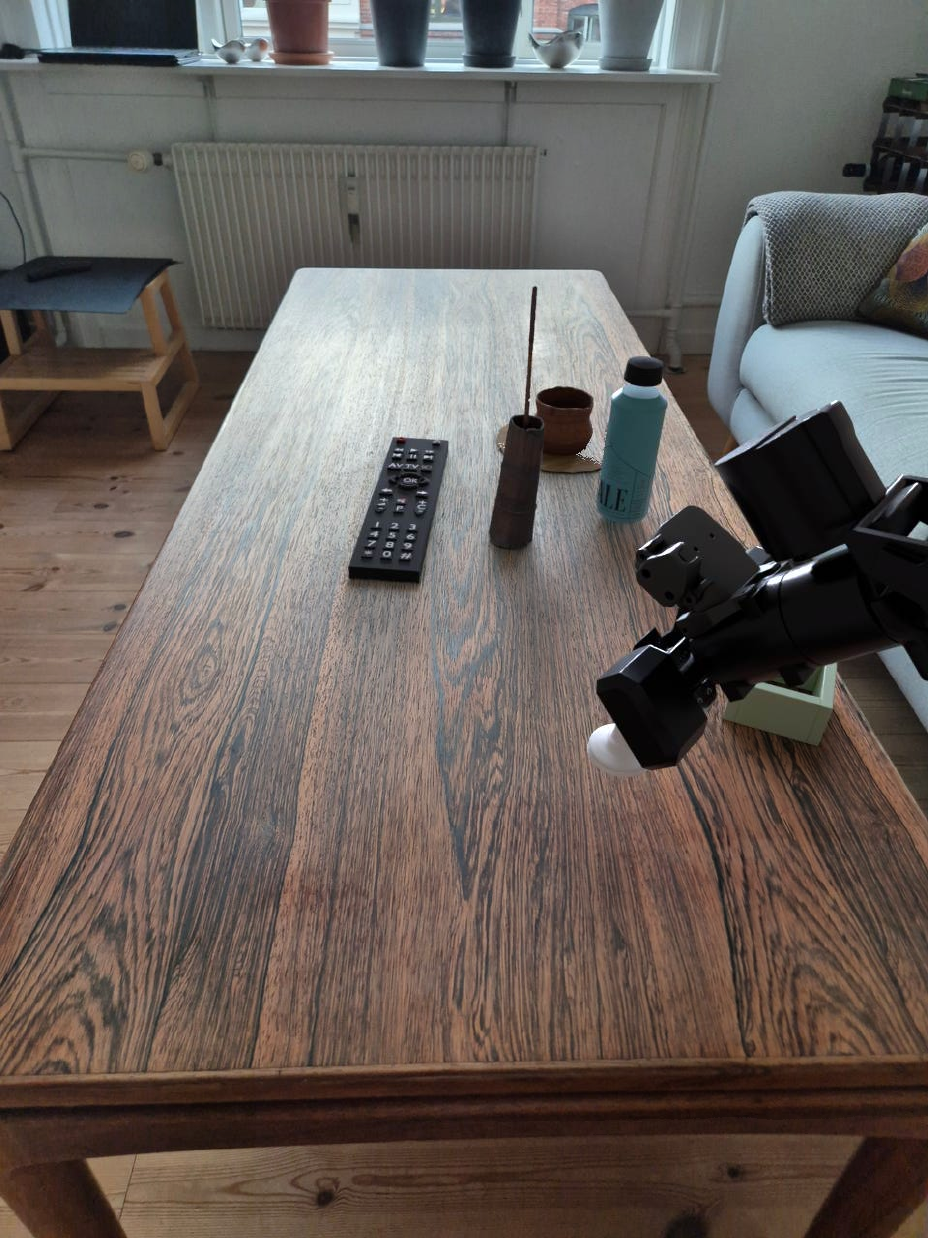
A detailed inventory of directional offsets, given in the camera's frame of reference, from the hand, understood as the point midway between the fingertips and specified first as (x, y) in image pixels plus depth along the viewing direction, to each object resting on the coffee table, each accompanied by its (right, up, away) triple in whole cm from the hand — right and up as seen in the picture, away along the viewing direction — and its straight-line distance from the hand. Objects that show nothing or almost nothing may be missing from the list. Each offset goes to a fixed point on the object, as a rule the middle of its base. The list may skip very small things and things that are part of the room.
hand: (616, 678), depth 59 cm
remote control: (-18, +18, +44) cm, 51 cm away
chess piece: (+1, -6, +3) cm, 7 cm away
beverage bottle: (+8, +16, +43) cm, 46 cm away
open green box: (+18, -4, +18) cm, 25 cm away
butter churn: (-5, +13, +38) cm, 41 cm away
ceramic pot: (+3, +29, +59) cm, 66 cm away
